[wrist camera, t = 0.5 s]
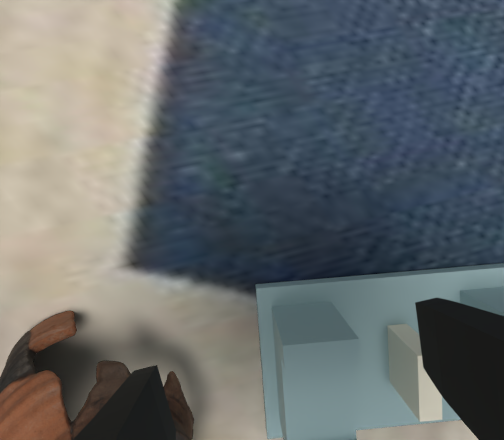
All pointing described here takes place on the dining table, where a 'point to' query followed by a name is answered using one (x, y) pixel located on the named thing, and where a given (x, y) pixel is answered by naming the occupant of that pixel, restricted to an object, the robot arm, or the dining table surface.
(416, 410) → the stand
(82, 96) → the dining table surface
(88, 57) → the dining table surface
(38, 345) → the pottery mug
